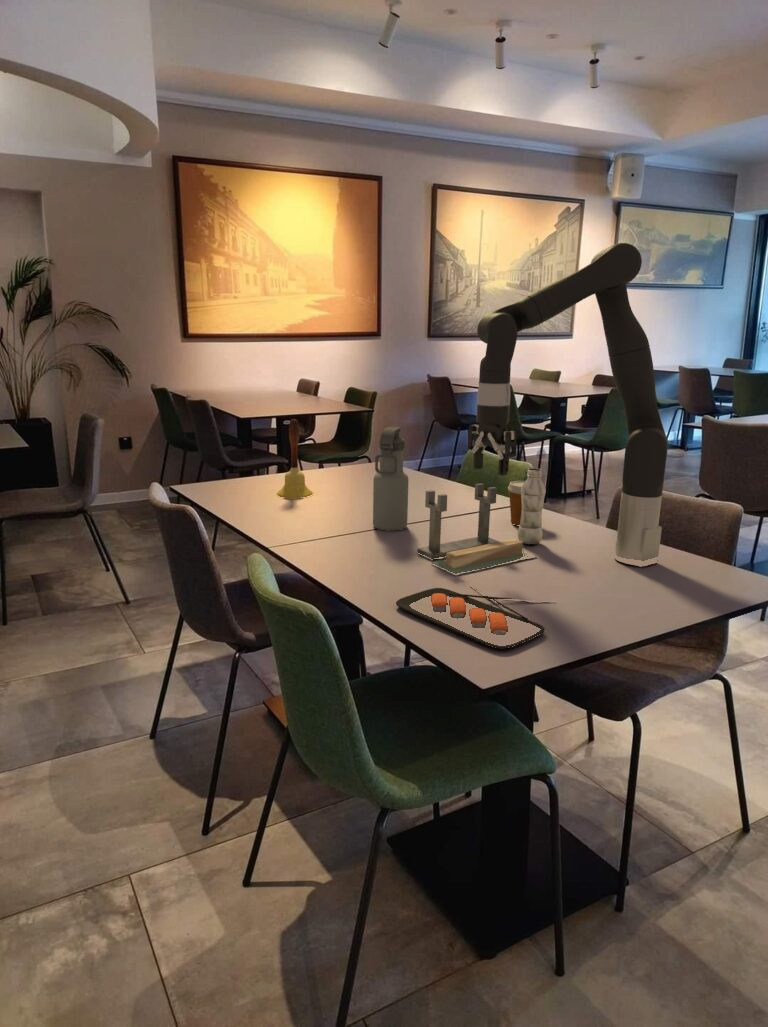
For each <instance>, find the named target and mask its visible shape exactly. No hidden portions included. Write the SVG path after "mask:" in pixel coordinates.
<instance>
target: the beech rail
mask: <svg viewBox="0 0 768 1027" xmlns="http://www.w3.org/2000/svg"><path fill="white" fill-rule="evenodd" d="M523 544H524V543H523V542H522V541H519V539H516V538H512V539H507V540H502V541H499V542H497V543H492V544H487V545H482V546H477V547H472V548H467V549H462V550H457V551H452V552H447V554H446V558H445V560H446V565H448V566H450V567H452V568H458V567H462V566H467V565H471V564H476V563H480V562H485V561H490V560H494V559H499V558H503V557H508V556H512V555H517V554H521V553H522V550H523Z"/></svg>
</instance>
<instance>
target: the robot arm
mask: <svg viewBox="0 0 768 1027" xmlns="http://www.w3.org/2000/svg"><path fill="white" fill-rule="evenodd" d="M642 260H643V259H642V255H641V253H640V250H639V249H637V247H636V246H635V245H633V244H631V243H626V242H619V243H614V244H611V245H610V246H608V247H606V248H605V249H602V250H601V251H599V252H598V253H596V254H595V255H594V256H593V258H592V259H591V261H590V263H589V264H588V265H586V266H584V267H582V268H581V269H579V270H577V271H575V272H573V273H571V274H568V275H567V276H565V277H562V278H560V279H557V280H556V281H553V282H551V283H549V284H547V285H545V286H542V287H540V288H538V289H537V290H534V291H533V292H531V293H529V294H527V295H526V296H523V297H521V299H518V300H517V301H515V302H513V303H511V304H508V305H505V306H503V307H500V308H498V309H495V310H493V311H491V312H489V313H487V314H486V315H483V317H482V318H481V319H480V320H479V322H478V324H477V328H476V329H477V331H476V333H477V335H478V338H479V339H480V340H481V342H483V344H485V345H486V349H485V356H484V357H482V359H481V360H480V363H479V377H478V387H477V389H478V390H477V400H476V420H475V421H476V423H477V424H471V425H469V426H468V436H467V446H466V448H467V450H470V451H472V453H473V463H472V464H473V469H474V470H481V469H483V467H484V453H483V452H484V451H485V449H486V448H487V447H490V448H493V449H494V451H495V452H496V453H497V456H498V458H499V459H498V471H497V472H498V475H499V476H507V475H508V473H509V466H510V465H509V464H510V459H511V458H516V457H517V445H518V444H517V441H518V440H517V436H518V435H517V431H516V430H510V431H509V430H507V425H508V424H509V423H510V410H511V409H510V407H511V384H510V383H511V370H512V369H511V367H512V366H511V364H512V360H513V357H514V353H515V349H516V345H517V340H518V333H520V332H521V331H524V330H528V329H529V330H530V329H532V328H535V327H537V326H539V325H541V324H543V323H544V322H547V321H549V320H551V319H553V318H554V317H556V316H558V315H559V314H561V313H563V312H564V311H566V310H568V309H569V308H571V307H573V306H575V305H576V304H578V303H579V302H581V301H583V300H586V299H587V298H589V297H590V296H592V295H595V298H596V302H597V305H598V308H599V312H600V315H601V316H600V317H601V321H602V326H603V332H604V337H605V341H606V346H607V352H608V359H609V364H610V368H611V374H612V377H613V380H614V384H615V386H616V389H617V392H618V394H619V398H620V399H621V402H622V405H623V407H624V408H623V409H624V411H625V417H626V418H625V419H626V426H627V441H626V444H625V450H624V459H623V470H622V480H621V482H622V483H621V484H622V487H621V495H620V496H621V497H620V503H619V504H620V505H619V512H618V513H619V514H618V522H617V523H618V524H617V525H618V526H617V533H616V541H615V542H616V543H615V553H614V555H615V554H616V555H617V556H618V557H621V558H626V559H634V560H641V561H645V560H648V559H652V558H655V557H658V558H659V556H660V555H659V554H660V546H661V545H660V544H661V538H662V529H663V527H662V526H660V525H659V522H660V512H661V506H662V499H663V498H662V497H663V492H664V491H663V490H664V482H665V474H666V473H665V472H666V464H667V458H668V448H669V440H668V437H667V436H668V435H667V434H666V431H665V428H664V425H663V422H662V419H661V416H660V413H659V408H658V404H657V395H656V392H657V391H656V380H655V378H656V377H655V370H654V369H655V368H654V361H653V357H652V352H651V347H650V342H649V339H648V337H647V334H646V332H645V330H644V329H643V326H641V323H640V322H639V320H638V319H637V317H636V316H635V314H634V312H633V310H632V307H631V304H630V301H629V300H630V299H629V294H628V286H627V284H629V283H630V282H633V280H635V279H636V277H637V276H638V274H639V273H640V271H641V269H642V262H643V261H642Z"/></svg>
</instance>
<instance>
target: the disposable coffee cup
mask: <svg viewBox="0 0 768 1027" xmlns="http://www.w3.org/2000/svg"><path fill="white" fill-rule="evenodd" d="M525 481H526V480H515V481H510V482H509V485H508V486H507V489H508V493H509V494H508V495H509V507H510V509H509V510H510V524H511V523H512V524H515V525H520V521H521V514H522V498H521V487H522V485H523V484H524V482H525ZM512 524H511V525H512Z"/></svg>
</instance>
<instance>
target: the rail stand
mask: <svg viewBox="0 0 768 1027" xmlns="http://www.w3.org/2000/svg"><path fill="white" fill-rule="evenodd" d="M497 489H498V488H497V487H494V486H492V487H487V496H486V495H485V483H482V482H481V483H475V484H474V500H476V501H479V502H478V503H479V504H478V524H477V536H475V537H471V538H464V539H460V540H455V541H449V542H444V543H441V534H442V513H444V512H447V511H448V495H447V494H445V493H442V494H437V502H436V491H435V490H434V489H432V490H431V489H430V490H425V504H424V505H425V506H424V507H425V508H428V509H429V527H428V528H429V531H428V534H429V535H428V546H424V547H418V548H417V552H418V553H420V554H422V555H425V556H427V557H429V558H431V559H434V558H439V557H445V556H446V554H447V552H452V551H457V550H462V549H467V548H472V547H477V546H482V545H487V544H492V543H497V542H500V541H499V540H497V539H494V538H491V537H490V519H491V518H490V516H491V505H493V504H497V493H498V492H497V491H498V490H497ZM417 552H416V553H417Z"/></svg>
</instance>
